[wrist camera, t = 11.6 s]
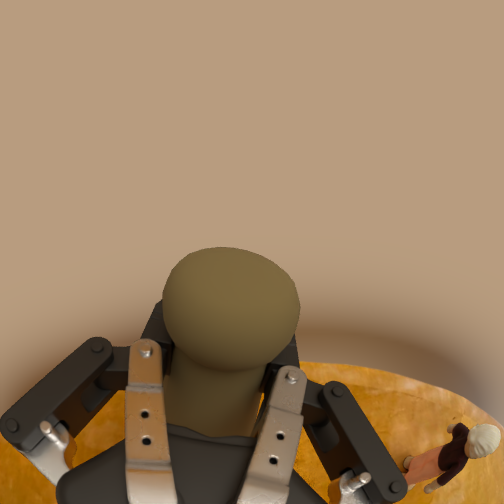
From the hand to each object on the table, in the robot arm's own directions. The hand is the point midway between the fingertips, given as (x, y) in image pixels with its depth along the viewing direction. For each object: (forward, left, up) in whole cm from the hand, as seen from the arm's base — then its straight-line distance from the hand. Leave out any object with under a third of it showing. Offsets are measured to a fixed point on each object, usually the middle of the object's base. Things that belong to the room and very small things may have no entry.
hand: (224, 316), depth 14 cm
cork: (-1, -4, -6) cm, 7 cm away
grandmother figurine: (+20, -11, -16) cm, 28 cm away
